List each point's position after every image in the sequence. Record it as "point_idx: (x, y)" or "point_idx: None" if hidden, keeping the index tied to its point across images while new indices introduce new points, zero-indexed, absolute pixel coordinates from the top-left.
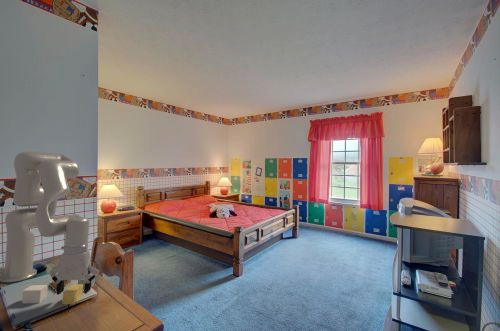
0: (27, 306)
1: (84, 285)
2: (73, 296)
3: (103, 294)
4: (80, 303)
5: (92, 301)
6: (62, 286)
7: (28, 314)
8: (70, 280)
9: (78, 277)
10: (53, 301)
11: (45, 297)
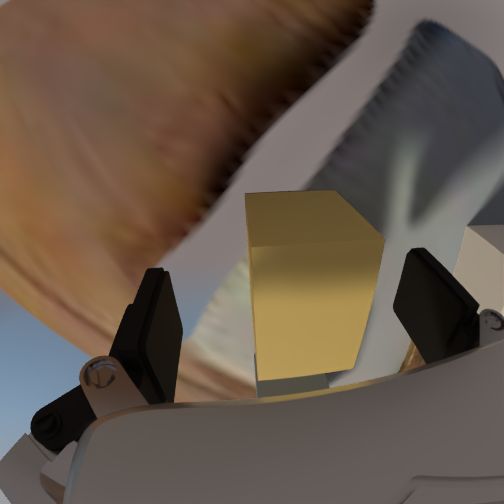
0: (497, 193)
1: (281, 385)
2: (254, 221)
3: None
4: (200, 214)
5: (127, 244)
6: (421, 323)
7: (468, 100)
8: None
9: (192, 454)
10: (410, 240)
11: (457, 273)
